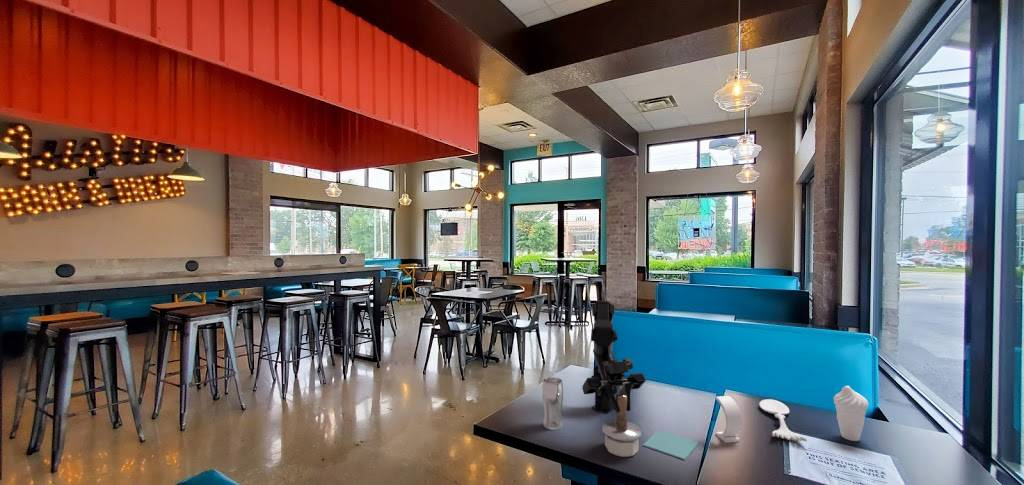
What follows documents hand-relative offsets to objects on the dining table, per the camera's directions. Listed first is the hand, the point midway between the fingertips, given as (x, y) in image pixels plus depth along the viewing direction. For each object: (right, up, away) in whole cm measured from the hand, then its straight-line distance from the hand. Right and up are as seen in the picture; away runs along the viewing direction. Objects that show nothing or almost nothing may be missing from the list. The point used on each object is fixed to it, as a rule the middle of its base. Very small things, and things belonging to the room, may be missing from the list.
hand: (623, 411), depth 118 cm
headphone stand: (+34, -12, +7) cm, 37 cm away
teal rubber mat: (+15, -12, +4) cm, 19 cm away
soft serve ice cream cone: (+72, -11, +7) cm, 73 cm away
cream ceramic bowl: (0, -12, +1) cm, 12 cm away
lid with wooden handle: (0, -7, +1) cm, 7 cm away
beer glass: (-19, -12, +17) cm, 28 cm away
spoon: (+56, -12, +17) cm, 60 cm away
